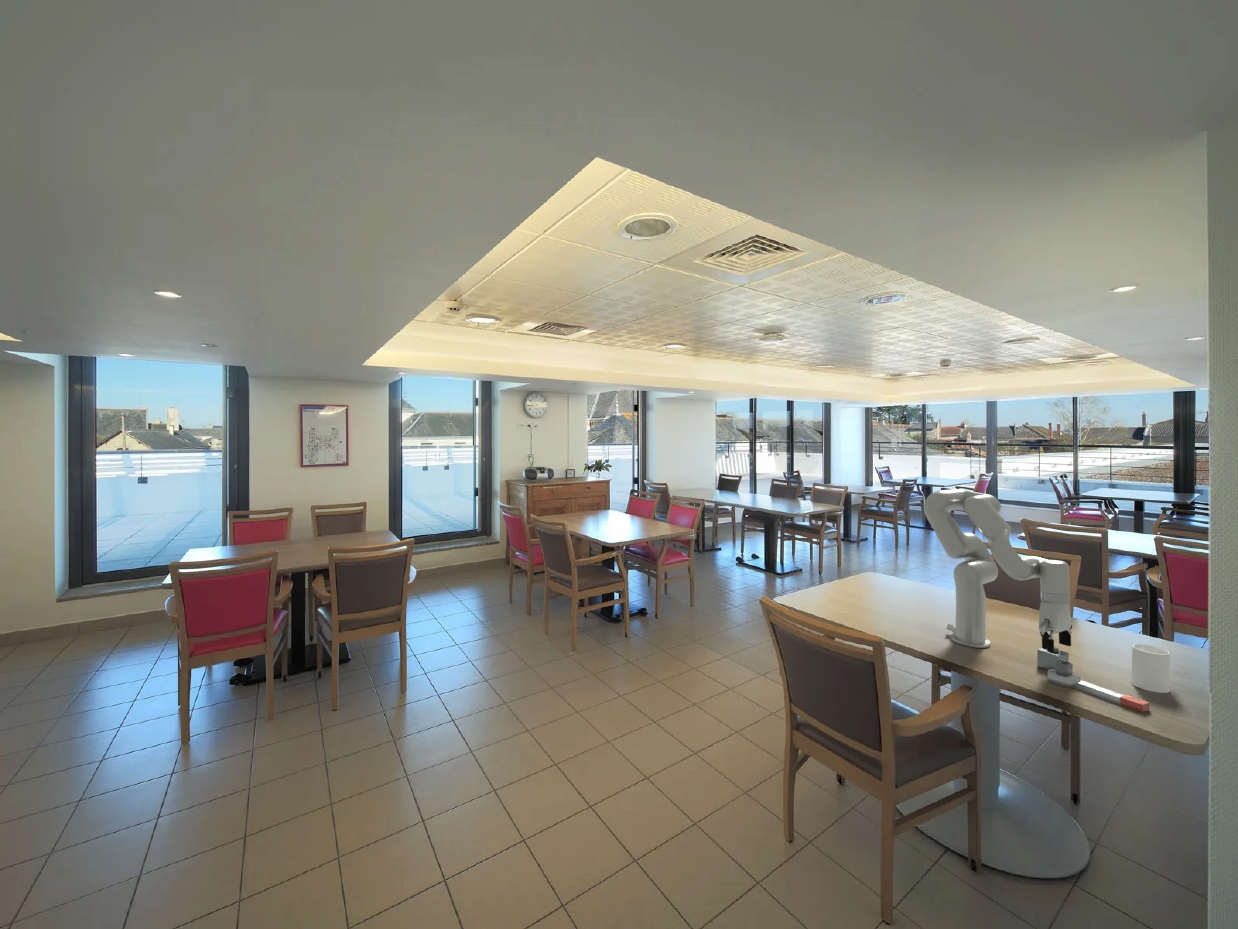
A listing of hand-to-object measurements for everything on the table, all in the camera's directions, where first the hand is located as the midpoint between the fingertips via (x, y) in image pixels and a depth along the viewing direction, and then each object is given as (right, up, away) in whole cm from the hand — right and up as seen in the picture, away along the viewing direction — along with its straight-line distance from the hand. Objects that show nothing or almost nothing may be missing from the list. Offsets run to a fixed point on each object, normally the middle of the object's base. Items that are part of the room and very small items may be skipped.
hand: (1056, 647), depth 169 cm
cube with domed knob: (0, -8, +1) cm, 8 cm away
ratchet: (-2, -8, -15) cm, 18 cm away
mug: (+20, -8, -12) cm, 25 cm away
